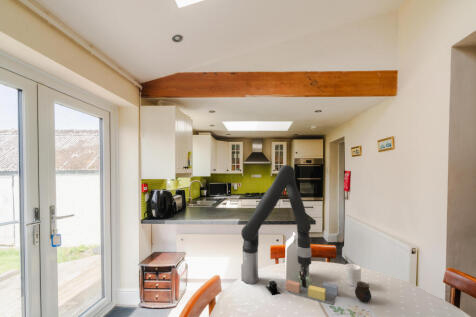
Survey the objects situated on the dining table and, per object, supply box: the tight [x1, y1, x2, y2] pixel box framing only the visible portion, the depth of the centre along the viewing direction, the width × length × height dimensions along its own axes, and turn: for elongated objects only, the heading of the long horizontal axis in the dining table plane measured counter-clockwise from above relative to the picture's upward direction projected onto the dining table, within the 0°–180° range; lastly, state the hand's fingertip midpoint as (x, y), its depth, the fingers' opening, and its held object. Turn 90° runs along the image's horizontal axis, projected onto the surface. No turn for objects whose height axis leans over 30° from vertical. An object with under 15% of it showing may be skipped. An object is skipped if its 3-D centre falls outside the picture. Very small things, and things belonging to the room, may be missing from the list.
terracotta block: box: [285, 280, 300, 293], centre depth 120 cm, size 7×4×4 cm, turn 60°
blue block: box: [322, 281, 339, 297], centre depth 117 cm, size 7×4×4 cm, turn 60°
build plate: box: [265, 280, 282, 296], centre depth 121 cm, size 12×7×5 cm, turn 16°
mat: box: [288, 281, 336, 306], centre depth 118 cm, size 22×13×1 cm, turn 60°
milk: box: [284, 231, 301, 282], centre depth 137 cm, size 12×12×26 cm
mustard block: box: [308, 284, 326, 301], centre depth 113 cm, size 8×4×4 cm, turn 60°
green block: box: [297, 275, 313, 287], centre depth 124 cm, size 7×4×4 cm, turn 60°
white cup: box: [345, 263, 362, 288], centre depth 126 cm, size 8×8×10 cm
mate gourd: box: [354, 281, 372, 304], centre depth 111 cm, size 7×8×10 cm
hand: (304, 285), depth 124 cm, fingers closed on green block, 3 cm apart
